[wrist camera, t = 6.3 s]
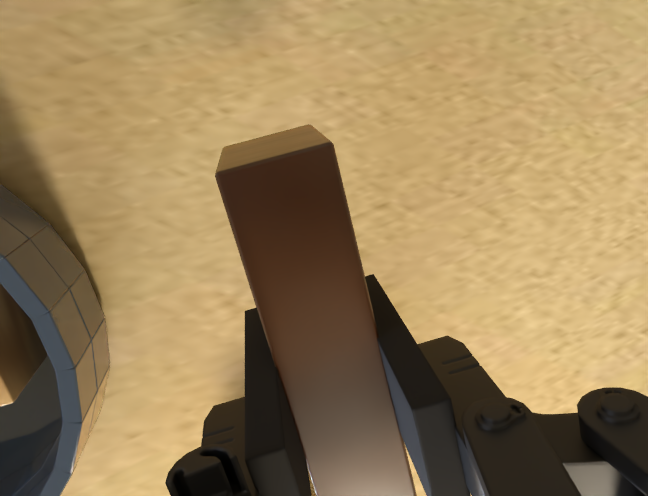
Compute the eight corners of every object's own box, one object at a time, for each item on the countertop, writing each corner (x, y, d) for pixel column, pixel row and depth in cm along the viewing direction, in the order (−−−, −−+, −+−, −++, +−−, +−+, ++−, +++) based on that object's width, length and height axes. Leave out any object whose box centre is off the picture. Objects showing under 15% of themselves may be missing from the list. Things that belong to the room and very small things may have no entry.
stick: (222, 146, 15) (213, 172, 11) (310, 123, 15) (332, 141, 11) (326, 489, 19) (346, 594, 15) (396, 467, 19) (433, 567, 15)
